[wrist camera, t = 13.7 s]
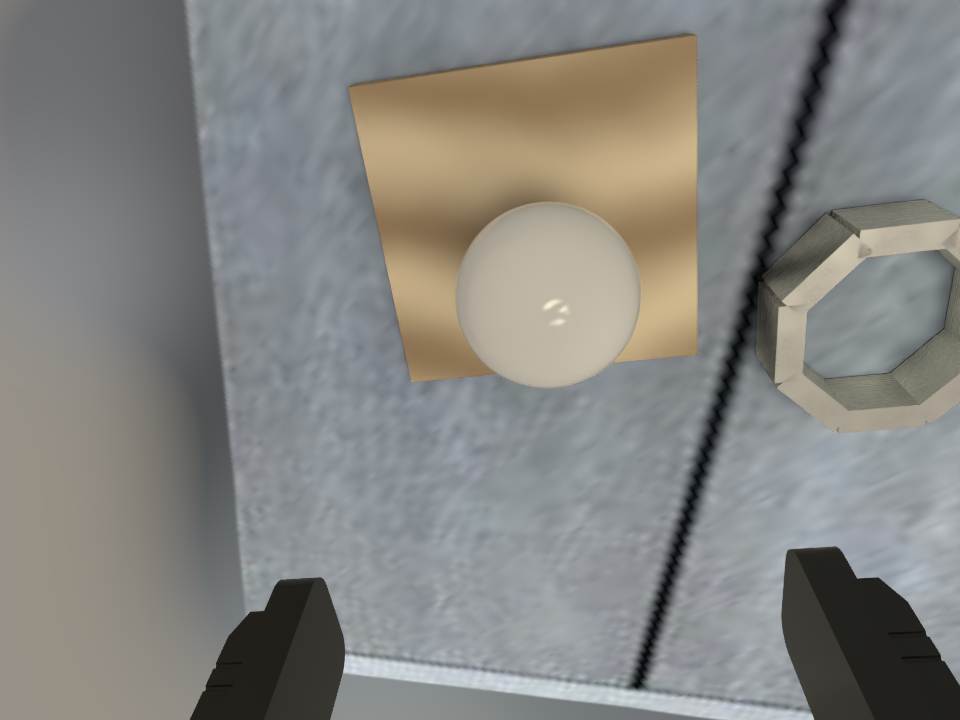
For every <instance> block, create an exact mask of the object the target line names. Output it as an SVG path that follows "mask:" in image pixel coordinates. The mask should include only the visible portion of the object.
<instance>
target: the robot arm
mask: <svg viewBox="0 0 960 720" xmlns="http://www.w3.org/2000/svg"><path fill="white" fill-rule="evenodd" d="M782 628H783V634H784V639H785V643H786V647H787V650H788V653H789V656H790V658H791V661H792V663H793V666H794V669H795V671H796V674H797V676H798V679H799V681H800V684H801V686H802V689H803V691H804V694H805V697H806V699H807V702H808V704H809V707H810V709H811V712H812V714H813V717H814V719H815V720H960V685H959V684H958V682H957V681H956V679H955V677H954V676H953V674H952V673H951V671H950V669H949V668H948V666H947V664H946V663H945V661H942V660H941V655H940V653H939V652H938V650H937V648H936V647H935V645H934V644H933V642H932V640H931V639H930V637H927V636H926V631H925V629H924V627H923V626H922V624H921V623H920V621H919V619H918V618H917V616H916V615H915V613H914V611H913V610H912V608H911V606H910V605H909V603H908V602H907V601H906V600H905V599H904V598H902V597H901V596H900V595H899V594H898V593H896V592H895V591H894V590H893V589H892V588H890V587H889V586H888V585H887V584H886V583H884V582H883V581H882V580H881V579H880V578H860V579H857V578H856V576H855V574H854V572H853V570H852V569H851V567H850V565H849V563H848V561H847V560H846V558H845V556H844V554H843V553H842V551H841V550H840V549H839V548H838V547H820V548H804V549H789V550H788V551H787V554H786V561H785V574H784V587H783V600H782ZM344 661H345V644H344V638H343V634H342V631H341V627H340V624H339V621H338V618H337V615H336V612H335V609H334V606H333V603H332V600H331V597H330V594H329V591H328V588H327V585H326V583H325V581H324V579H323V578H321V577H318V578H302V579H286V580H280V581H279V582H277V584H276V585H275V587H274V589H273V592H272V594H271V596H270V599H269V601H268V603H267V606H266V608H265V611H257V612H250V613H249V614H248V615H247V616H246V617H245V619H244V620H243V621H242V622H241V623H240V624H239V625H238V626H237V628H236V629H235V630H234V631H233V632H232V633H231V634H230V635H229V637H228V639H227V641H226V643H225V645H224V647H223V649H222V651H221V654H220V656H219V658H218V660H217V662H216V669H213V671H212V673H211V675H210V678H209V680H208V682H207V684H206V690H205V691H204V692H203V693H202V695H201V697H200V699H199V701H198V703H197V706H196V708H195V710H194V712H193V714H192V716H191V718H190V720H330V718H331V714H332V711H333V707H334V703H335V699H336V696H337V692H338V688H339V685H340V681H341V677H342V674H343V669H344Z"/></svg>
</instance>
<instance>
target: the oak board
mask: <svg viewBox="0 0 960 720" xmlns="http://www.w3.org/2000/svg"><path fill="white" fill-rule="evenodd" d="M348 89H349V94H350V99H351V103H352V108H353V113H354V117H355V122H356V127H357V131H358V136H359V141H360V145H361V150H362V155H363V159H364V164H365V169H366V173H367V178H368V182H369V187H370V192H371V196H372V201H373V206H374V210H375V215H376V220H377V224H378V229H379V234H380V238H381V243H382V248H383V252H384V257H385V262H386V266H387V271H388V276H389V280H390V285H391V290H392V294H393V299H394V304H395V308H396V313H397V317H398V322H399V327H400V331H401V336H402V341H403V345H404V350H405V355H406V359H407V364H408V369H409V373H410V378H411V382H420V381H430V380H440V379H450V378H461V377H471V376H481V375H492V374H497V373H495V372H494V371H493V370H491V369H490V368H489V367H488V366H486V365H485V364H484V363H483V362H482V361H481V360H480V359H479V358H478V356H477V355H476V354H475V353H474V352H473V350H472V349H471V347H470V346H469V344H468V342H467V341H466V339H465V337H464V335H463V332H462V330H461V327H460V325H459V321H458V318H457V313H456V306H455V285H456V278H457V274H458V270H459V267H460V264H461V261H462V259H463V256H464V254H465V252H466V250H467V249H468V247H469V245H470V244H471V242H472V241H473V240H474V238H475V237H476V236H477V235H478V233H479V232H480V231H481V230H482V229H483V228H484V227H485V226H486V225H487V224H489V223H490V222H491V221H492V220H494V219H495V218H497V217H498V216H500V215H501V214H503V213H505V212H507V211H509V210H511V209H514V208H516V207H519V206H522V205H526V204H530V203H535V202H547V201H551V202H563V203H569V204H573V205H576V206H579V207H582V208H584V209H587V210H589V211H591V212H593V213H595V214H597V215H598V216H600V217H601V218H603V219H604V220H605V221H607V222H608V223H609V224H610V225H611V226H612V227H614V228H615V229H616V231H617V232H618V233H619V234H620V235H621V236H622V238H623V239H624V240H625V242H626V243H627V245H628V246H629V248H630V250H631V252H632V254H633V256H634V258H635V261H636V264H637V267H638V270H639V274H640V279H641V289H642V299H641V308H640V314H639V318H638V322H637V325H636V328H635V330H634V332H633V335H632V337H631V339H630V340H629V342H628V344H627V345H626V347H625V348H624V350H623V351H622V352H621V354H620V355H619V356H618V357H617V358H616V359H615V360H614V361H613V362H612V363H615V362H625V361H635V360H646V359H656V358H666V357H677V356H687V355H697V35H694V34H684V35H678V36H671V37H664V38H658V39H651V40H644V41H638V42H631V43H624V44H618V45H611V46H604V47H598V48H591V49H584V50H578V51H571V52H564V53H558V54H551V55H544V56H538V57H531V58H524V59H518V60H511V61H504V62H498V63H491V64H484V65H478V66H471V67H464V68H458V69H451V70H444V71H438V72H431V73H424V74H418V75H411V76H404V77H398V78H391V79H384V80H377V81H371V82H364V83H357V84H353V85H352V86H350V87H348Z"/></svg>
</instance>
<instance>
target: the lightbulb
mask: <svg viewBox="0 0 960 720" xmlns="http://www.w3.org/2000/svg"><path fill="white" fill-rule="evenodd" d="M641 299H642V289H641V279H640V274H639V270H638V267H637V264H636V261H635V258H634V256H633V254H632V252H631V250H630V248H629V246H628V245H627V243H626V242H625V240H624V239H623V238H622V236H621V235H620V234H619V233H618V232H617V231H616V229H615V228H614V227H612V226H611V225H610V224H609V223H608V222H607V221H605V220H604V219H603V218H601V217H600V216H598V215H597V214H595V213H593V212H591V211H589V210H587V209H584V208H582V207H579V206H576V205H573V204H569V203H563V202H551V201H547V202H535V203H530V204H526V205H522V206H519V207H516V208H514V209H511V210H509V211H507V212H505V213H503V214H501V215H500V216H498V217H497V218H495V219H494V220H492V221H491V222H490V223H489V224H487V225H486V226H485V227H484V228H483V229H482V230H481V231H480V232H479V233H478V235H477V236H476V237H475V238H474V240H473V241H472V242H471V244H470V245H469V247H468V249H467V250H466V252H465V254H464V256H463V259H462V261H461V264H460V267H459V270H458V274H457V278H456V285H455V306H456V313H457V318H458V321H459V325H460V327H461V330H462V332H463V335H464V337H465V339H466V341H467V342H468V344H469V346H470V347H471V349H472V350H473V352H474V353H475V354H476V355H477V356H478V358H479V359H480V360H481V361H482V362H483V363H484V364H485V365H486V366H488V367H489V368H490V369H491V370H493V371H494V372H495V373H497V374H499V375H500V376H502V377H504V378H506V379H508V380H510V381H512V382H515V383H518V384H521V385H524V386H529V387H535V388H560V387H566V386H570V385H574V384H577V383H580V382H583V381H585V380H587V379H589V378H591V377H593V376H595V375H597V374H598V373H600V372H601V371H603V370H604V369H605V368H607V367H608V366H609V365H610V364H611V363H612V362H613V361H614V360H615V359H616V358H617V357H618V356H619V355H620V354H621V352H622V351H623V350H624V348H625V347H626V345H627V344H628V342H629V340H630V339H631V337H632V335H633V332H634V330H635V328H636V325H637V322H638V318H639V314H640V308H641Z"/></svg>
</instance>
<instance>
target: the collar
mask: <svg viewBox="0 0 960 720" xmlns="http://www.w3.org/2000/svg"><path fill="white" fill-rule="evenodd" d="M929 250H937V251H938V252H939V253H940V254H941V255H942V256H943V257H944V258H945V259H946V260H948V261H949V262H950V263H951V264H952V265H953V266H954V267H955V271H954V277H953V282H952V288H951V294H950V299H949V305H948V311H947V316H946V322H945V328H944V329H943V330H942V331H941V332H940V333H938V334H937V335H936V336H935V337H934V338H932V339H931V340H930V341H929V342H927V343H926V344H925V345H924V346H923V347H921V348H920V349H919V350H918V351H917V352H915V353H914V354H913V355H912V356H910V357H909V358H908V359H907V360H906V361H904V362H903V363H902V364H901V365H899V366H898V367H897V368H896V369H895V370H893V371H892V372H891V373H887V374H876V375H865V376H854V377H843V378H832V379H823V378H822V377H821V376H820V375H818V374H817V373H816V372H815V371H813V370H812V369H811V368H810V367H808V366H807V365H806V364H805V363H803V360H804V347H805V334H806V321H807V311H808V310H809V309H810V308H812V307H813V306H814V305H815V304H816V303H817V302H818V301H819V300H820V299H821V298H823V297H824V296H825V295H826V294H827V293H828V292H829V291H830V290H831V289H832V288H833V287H835V286H836V285H837V284H838V283H839V282H840V281H841V280H842V279H843V278H844V277H845V276H847V275H848V274H849V273H850V272H851V271H852V270H853V269H854V268H855V267H856V266H857V265H859V264H860V263H861V262H862V261H863V260H864V259H865V258H866V257H875V256H884V255H893V254H902V253H911V252H920V251H929ZM761 277H762V278H763V279H764V281H760V282H758V304H757V329H756V355H757V356H758V359H759V361H760V362H761V364H762V366H763V367H764V369H765V370H766V372H767V373H768V375H769V377H770V378H771V380H772V381H773V383H774V385H775V386H776V388H777V389H779V390H780V391H781V392H783V393H784V394H785V395H786V396H788V397H789V398H790V399H792V400H793V401H794V402H795V403H797V404H798V405H799V406H801V407H802V408H803V409H804V410H806V411H807V412H808V413H810V414H811V415H812V416H813V417H815V418H816V419H817V420H819V421H820V422H821V423H822V424H824V425H825V426H826V427H828V428H829V429H830V430H831V431H835V430H837V432H838V433H847V432H859V431H871V430H883V429H896V428H908V427H920V426H924V425H925V420H927V421H928V422H929V423H930V424H931V423H932V422H933V421H935V420H936V419H937V418H939V417H940V416H941V415H943V414H944V413H945V412H947V411H948V410H949V409H950V408H952V407H953V406H954V405H956V404H957V403H958V402H960V217H958V216H957V215H955V214H953V213H951V212H949V211H947V210H945V209H943V208H941V207H939V206H937V205H935V204H933V203H932V202H930V201H928V202H927V201H925V200H923V199H922V200H914V201H905V202H897V203H888V204H880V205H872V206H863V207H855V208H846V209H838V210H832V217H830V216H829V215H828V214H825V215H823V216H822V217H821V218H820V219H819V220H818V221H817V222H816V223H815V224H814V225H813V226H812V227H811V228H810V229H809V230H808V231H807V232H806V233H805V234H804V235H803V236H802V237H801V238H800V239H799V240H798V241H797V242H796V243H795V244H794V245H793V246H792V247H791V248H790V249H789V250H788V251H787V252H785V253H784V254H783V255H782V256H781V257H780V258H779V259H778V260H777V261H776V262H775V263H774V264H773V265H772V266H771V267H770V268H769V269H768V270H767V271H766V272H765V273H764V274H763V275H762V276H761Z"/></svg>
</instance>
